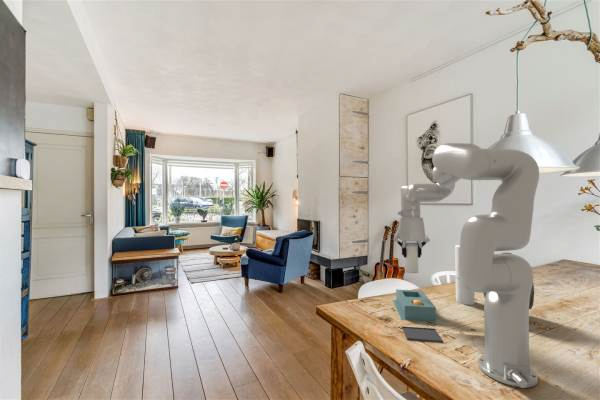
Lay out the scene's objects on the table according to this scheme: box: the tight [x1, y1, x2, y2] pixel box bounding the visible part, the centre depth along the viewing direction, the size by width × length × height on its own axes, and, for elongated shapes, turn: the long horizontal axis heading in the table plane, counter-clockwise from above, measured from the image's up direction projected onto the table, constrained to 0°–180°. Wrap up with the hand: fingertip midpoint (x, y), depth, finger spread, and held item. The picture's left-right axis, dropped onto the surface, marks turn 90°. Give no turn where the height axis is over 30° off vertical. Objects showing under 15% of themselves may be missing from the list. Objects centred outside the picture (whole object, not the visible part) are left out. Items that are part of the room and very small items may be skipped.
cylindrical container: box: [454, 244, 475, 306], centre depth 122 cm, size 7×7×25 cm
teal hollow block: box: [392, 288, 441, 323], centre depth 111 cm, size 21×14×6 cm, turn 170°
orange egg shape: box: [413, 300, 422, 305], centre depth 105 cm, size 3×3×4 cm
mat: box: [401, 326, 444, 343], centre depth 94 cm, size 11×11×1 cm
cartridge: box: [404, 241, 419, 274], centre depth 115 cm, size 5×5×12 cm
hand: (411, 256), depth 115 cm, fingers closed on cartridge, 5 cm apart
